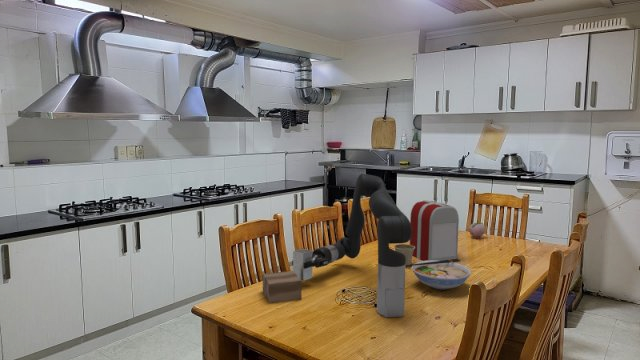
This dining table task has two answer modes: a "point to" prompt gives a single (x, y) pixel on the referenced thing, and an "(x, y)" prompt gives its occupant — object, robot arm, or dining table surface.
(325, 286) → the dining table surface
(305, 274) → the steel tea tin
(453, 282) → the ramen bowl
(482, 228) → the decorative fruit
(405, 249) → the flower pot
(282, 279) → the walnut box
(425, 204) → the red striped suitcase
